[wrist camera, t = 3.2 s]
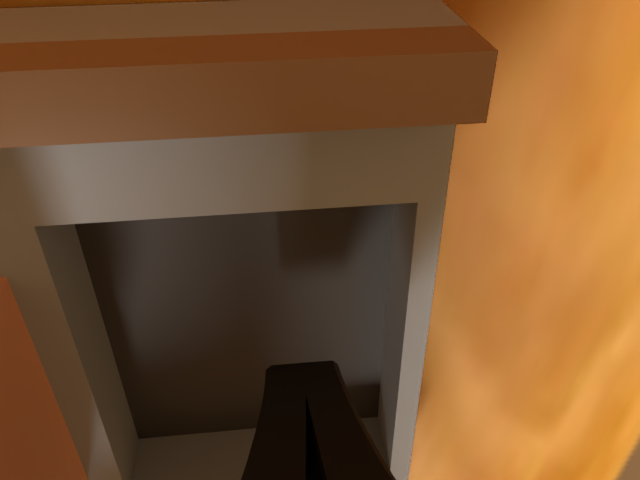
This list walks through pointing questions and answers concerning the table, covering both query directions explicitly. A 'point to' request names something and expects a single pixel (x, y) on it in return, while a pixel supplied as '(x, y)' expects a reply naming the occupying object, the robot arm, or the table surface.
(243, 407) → the grey long tray
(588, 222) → the table surface
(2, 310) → the block
